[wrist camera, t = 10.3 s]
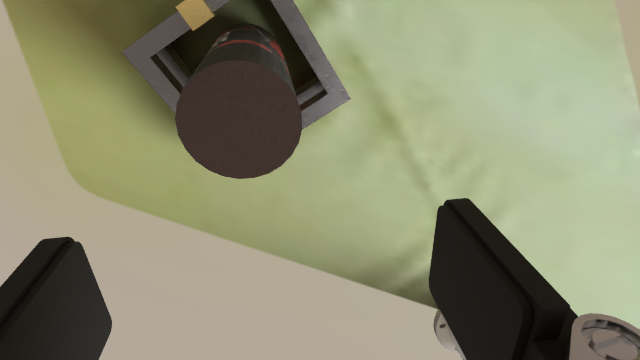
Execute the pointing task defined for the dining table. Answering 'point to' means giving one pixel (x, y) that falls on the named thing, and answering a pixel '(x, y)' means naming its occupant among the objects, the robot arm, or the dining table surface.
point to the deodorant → (240, 106)
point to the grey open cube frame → (172, 73)
